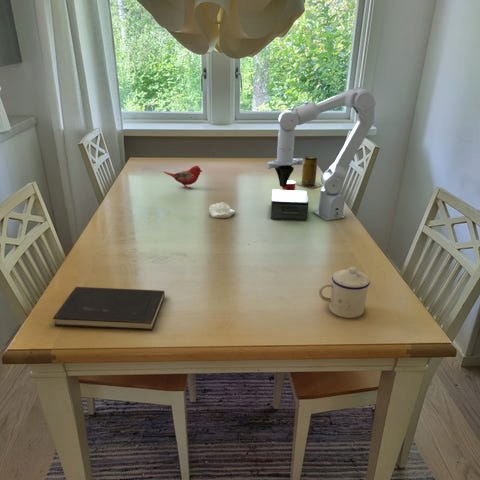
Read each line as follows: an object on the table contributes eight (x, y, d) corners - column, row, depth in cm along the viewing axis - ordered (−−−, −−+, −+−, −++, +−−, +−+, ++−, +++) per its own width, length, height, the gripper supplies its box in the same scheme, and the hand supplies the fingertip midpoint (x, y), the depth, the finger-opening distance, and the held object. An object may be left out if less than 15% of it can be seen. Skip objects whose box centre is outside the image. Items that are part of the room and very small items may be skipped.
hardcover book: (152, 330, 111) (151, 322, 110) (54, 326, 112) (52, 317, 111) (164, 297, 125) (164, 289, 124) (77, 293, 126) (76, 285, 125)
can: (295, 203, 192) (297, 183, 188) (283, 204, 191) (284, 184, 187) (291, 199, 196) (293, 180, 192) (280, 200, 195) (281, 180, 191)
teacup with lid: (360, 301, 125) (367, 260, 119) (367, 319, 118) (376, 277, 112) (314, 300, 125) (319, 259, 119) (319, 318, 118) (324, 275, 112)
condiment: (308, 181, 219) (310, 154, 212) (322, 186, 213) (325, 158, 207) (296, 184, 215) (299, 156, 209) (310, 188, 209) (313, 160, 203)
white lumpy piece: (205, 199, 180) (230, 197, 183) (205, 210, 182) (230, 208, 185) (212, 207, 172) (238, 205, 175) (212, 219, 174) (238, 217, 177)
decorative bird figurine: (201, 191, 203) (201, 167, 198) (162, 187, 207) (161, 163, 202) (203, 189, 205) (203, 165, 200) (165, 185, 209) (164, 161, 204)
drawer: (306, 223, 171) (307, 209, 168) (272, 221, 172) (273, 207, 169) (303, 207, 186) (304, 194, 183) (272, 206, 186) (273, 193, 184)
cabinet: (306, 220, 176) (308, 202, 172) (270, 218, 176) (271, 201, 173) (304, 207, 188) (306, 190, 184) (271, 206, 188) (272, 189, 185)
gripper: (274, 152, 162) (272, 192, 170) (309, 148, 169) (305, 186, 176) (263, 148, 168) (261, 186, 175) (297, 144, 174) (294, 181, 181)
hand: (282, 186), depth 176 cm, fingers closed
